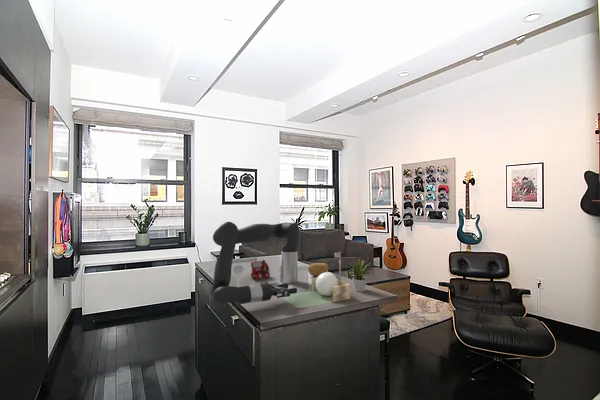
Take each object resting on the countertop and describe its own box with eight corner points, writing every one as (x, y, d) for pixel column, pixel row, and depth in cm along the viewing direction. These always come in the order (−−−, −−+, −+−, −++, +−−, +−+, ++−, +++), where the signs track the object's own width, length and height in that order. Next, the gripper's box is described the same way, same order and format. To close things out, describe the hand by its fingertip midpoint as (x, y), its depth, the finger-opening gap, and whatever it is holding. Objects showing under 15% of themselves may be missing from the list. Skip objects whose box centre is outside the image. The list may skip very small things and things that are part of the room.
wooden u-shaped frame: (334, 301, 144) (334, 257, 144) (312, 290, 161) (311, 251, 161) (353, 298, 150) (353, 255, 149) (329, 287, 167) (329, 249, 166)
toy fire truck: (272, 277, 190) (272, 260, 190) (255, 281, 182) (255, 263, 182) (265, 275, 195) (265, 258, 195) (248, 279, 187) (248, 261, 187)
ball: (332, 265, 156) (340, 283, 159) (311, 272, 158) (319, 290, 161) (334, 276, 146) (342, 296, 149) (312, 284, 147) (320, 303, 150)
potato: (332, 276, 193) (332, 262, 193) (314, 279, 186) (314, 265, 186) (322, 273, 202) (322, 260, 201) (304, 276, 194) (304, 262, 194)
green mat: (299, 309, 135) (299, 308, 135) (279, 296, 153) (279, 296, 153) (351, 299, 149) (351, 298, 149) (328, 288, 166) (328, 288, 166)
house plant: (353, 296, 152) (353, 262, 152) (338, 289, 165) (338, 257, 165) (378, 293, 158) (378, 260, 158) (362, 286, 171) (362, 255, 171)
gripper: (265, 288, 131) (299, 283, 139) (252, 280, 143) (285, 276, 151) (264, 306, 131) (299, 300, 139) (252, 297, 143) (285, 292, 151)
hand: (292, 287), depth 145 cm, fingers open, 8 cm apart
